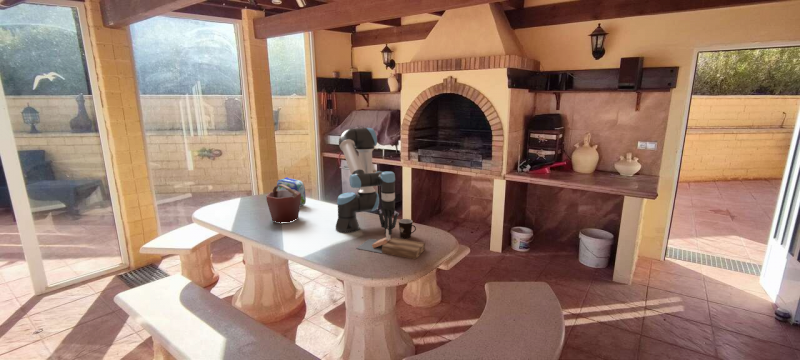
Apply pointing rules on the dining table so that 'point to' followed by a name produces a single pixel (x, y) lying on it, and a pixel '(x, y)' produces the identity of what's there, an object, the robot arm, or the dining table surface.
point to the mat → (370, 246)
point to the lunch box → (293, 187)
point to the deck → (403, 248)
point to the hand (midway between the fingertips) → (388, 239)
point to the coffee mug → (405, 228)
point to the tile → (380, 242)
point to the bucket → (284, 204)
